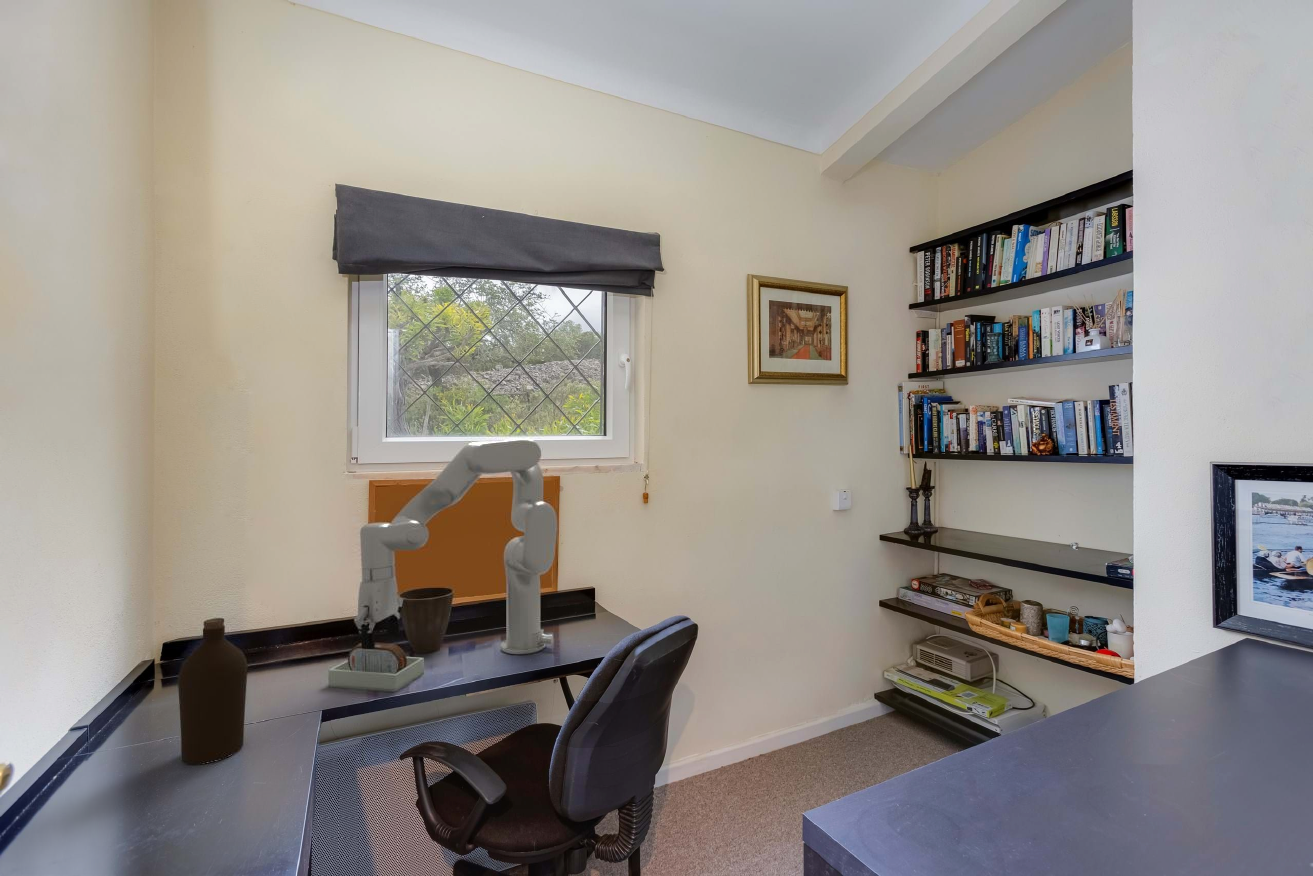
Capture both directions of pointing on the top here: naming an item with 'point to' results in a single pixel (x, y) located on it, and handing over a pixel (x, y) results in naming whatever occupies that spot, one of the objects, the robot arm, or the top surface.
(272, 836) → the top surface
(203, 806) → the top surface
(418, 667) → the tray
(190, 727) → the olive oil
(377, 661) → the tin
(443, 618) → the plant pot
